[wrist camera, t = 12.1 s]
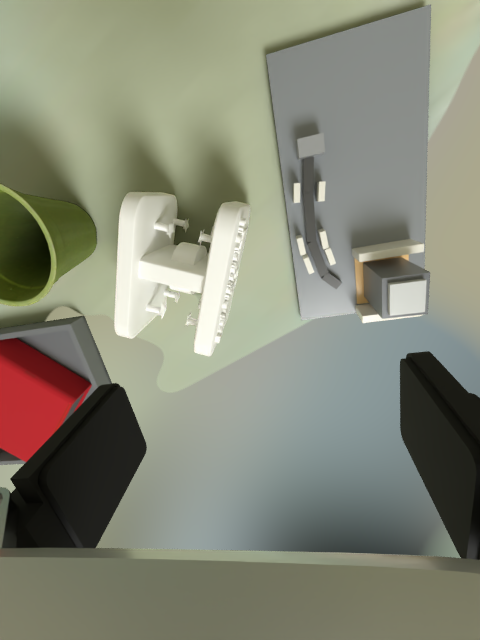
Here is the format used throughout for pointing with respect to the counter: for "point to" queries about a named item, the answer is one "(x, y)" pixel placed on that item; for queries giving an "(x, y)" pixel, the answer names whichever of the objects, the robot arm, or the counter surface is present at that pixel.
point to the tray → (61, 353)
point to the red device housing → (34, 397)
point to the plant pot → (39, 244)
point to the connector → (396, 287)
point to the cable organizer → (176, 265)
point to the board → (353, 155)
